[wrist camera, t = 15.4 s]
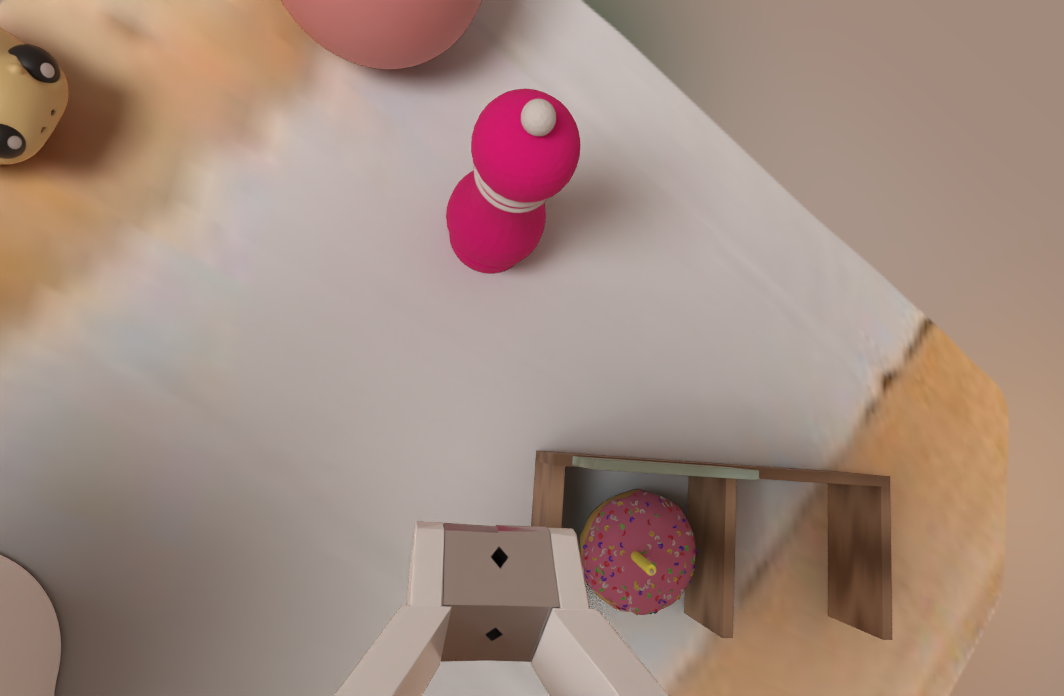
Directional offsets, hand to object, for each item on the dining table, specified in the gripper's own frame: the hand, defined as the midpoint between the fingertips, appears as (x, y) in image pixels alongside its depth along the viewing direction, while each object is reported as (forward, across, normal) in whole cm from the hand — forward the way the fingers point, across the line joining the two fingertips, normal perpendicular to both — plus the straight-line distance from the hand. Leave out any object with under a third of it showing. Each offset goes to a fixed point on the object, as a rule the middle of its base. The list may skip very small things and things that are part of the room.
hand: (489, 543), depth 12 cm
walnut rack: (+22, -22, +28) cm, 42 cm away
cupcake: (+22, -15, +29) cm, 39 cm away
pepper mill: (+38, -3, +12) cm, 40 cm away
